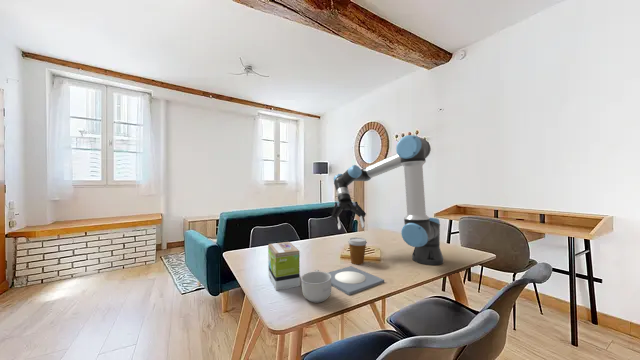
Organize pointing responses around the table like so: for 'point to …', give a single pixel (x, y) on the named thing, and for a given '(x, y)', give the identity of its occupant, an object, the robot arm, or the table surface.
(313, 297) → the teacup
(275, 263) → the tea box
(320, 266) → the table surface
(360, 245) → the disposable coffee cup
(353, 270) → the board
